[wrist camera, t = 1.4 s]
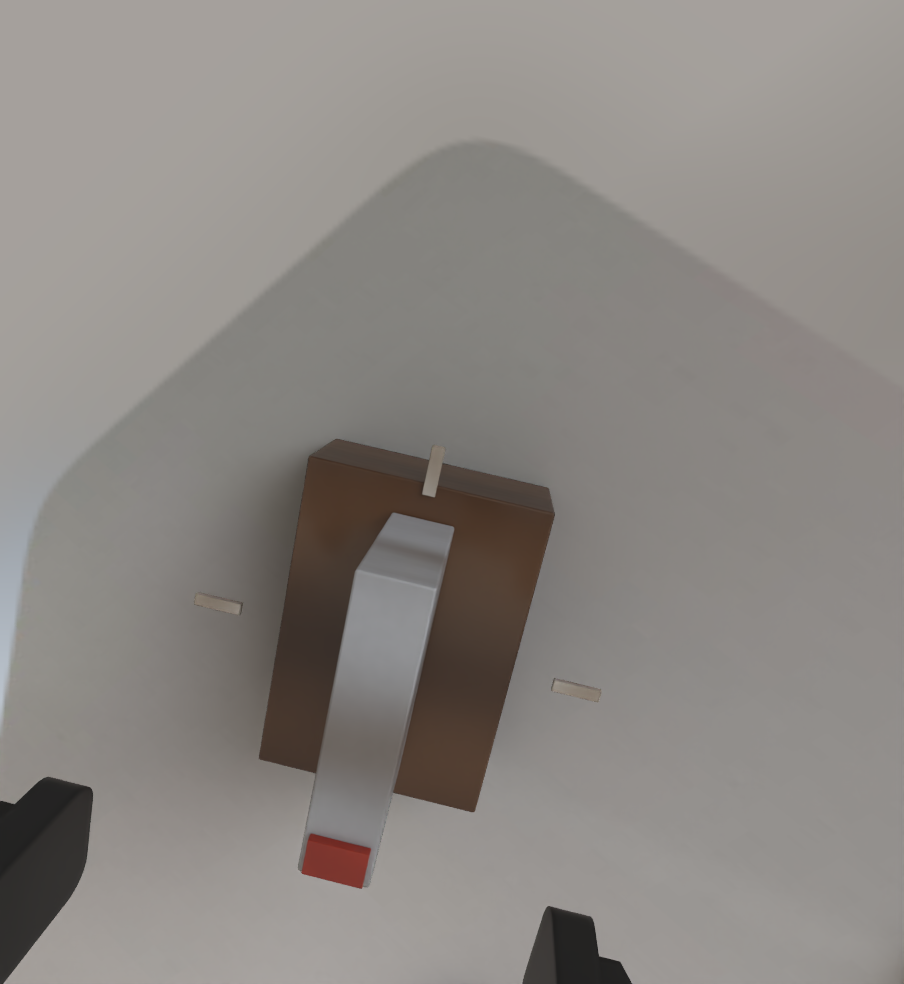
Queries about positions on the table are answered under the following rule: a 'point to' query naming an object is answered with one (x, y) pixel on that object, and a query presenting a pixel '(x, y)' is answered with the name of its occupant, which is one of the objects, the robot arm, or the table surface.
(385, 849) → the table surface
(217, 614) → the table surface
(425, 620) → the light grey narrow block
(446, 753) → the tap base
